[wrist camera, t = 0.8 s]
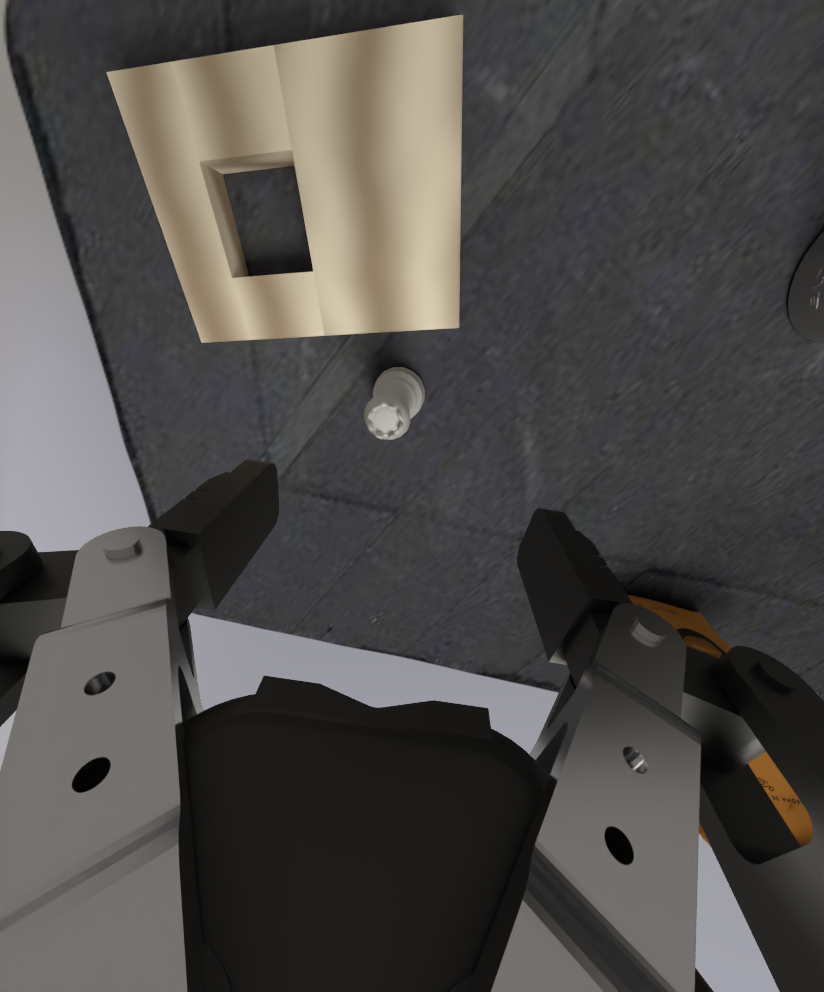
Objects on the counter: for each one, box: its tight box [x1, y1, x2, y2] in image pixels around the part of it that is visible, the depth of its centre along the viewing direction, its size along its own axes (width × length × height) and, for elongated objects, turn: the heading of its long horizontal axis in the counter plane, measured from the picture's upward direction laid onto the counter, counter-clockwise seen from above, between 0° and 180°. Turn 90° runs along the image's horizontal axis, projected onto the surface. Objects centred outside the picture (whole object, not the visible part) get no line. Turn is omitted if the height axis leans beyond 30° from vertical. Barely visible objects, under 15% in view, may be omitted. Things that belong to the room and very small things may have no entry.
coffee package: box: [628, 595, 813, 848], centre depth 31 cm, size 10×12×22 cm
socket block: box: [107, 15, 463, 343], centre depth 22 cm, size 20×14×2 cm
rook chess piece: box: [364, 367, 425, 440], centre depth 25 cm, size 4×4×8 cm
